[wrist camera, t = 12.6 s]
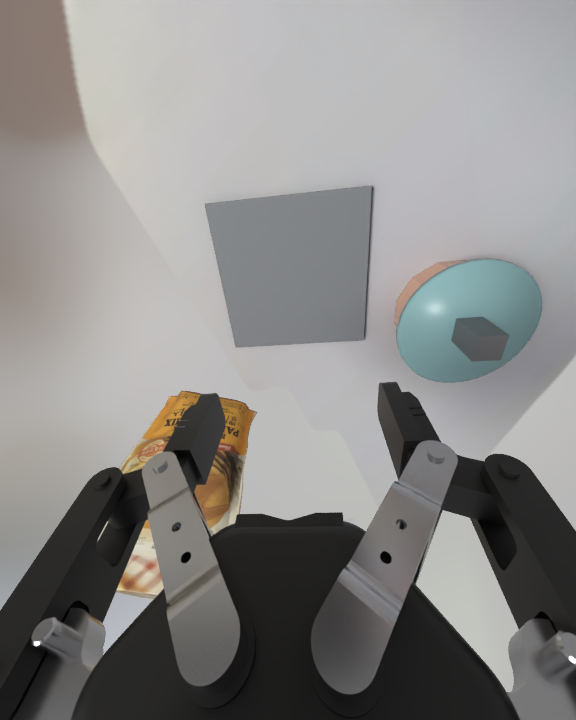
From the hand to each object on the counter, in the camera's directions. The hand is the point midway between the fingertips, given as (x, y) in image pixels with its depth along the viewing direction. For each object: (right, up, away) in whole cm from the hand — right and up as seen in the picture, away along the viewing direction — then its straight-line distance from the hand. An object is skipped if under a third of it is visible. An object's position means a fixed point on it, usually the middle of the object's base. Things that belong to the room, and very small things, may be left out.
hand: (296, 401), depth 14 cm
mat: (0, +14, +25) cm, 28 cm away
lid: (+21, +6, +21) cm, 30 cm away
